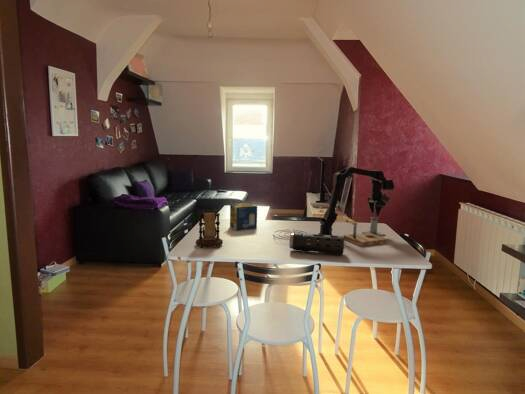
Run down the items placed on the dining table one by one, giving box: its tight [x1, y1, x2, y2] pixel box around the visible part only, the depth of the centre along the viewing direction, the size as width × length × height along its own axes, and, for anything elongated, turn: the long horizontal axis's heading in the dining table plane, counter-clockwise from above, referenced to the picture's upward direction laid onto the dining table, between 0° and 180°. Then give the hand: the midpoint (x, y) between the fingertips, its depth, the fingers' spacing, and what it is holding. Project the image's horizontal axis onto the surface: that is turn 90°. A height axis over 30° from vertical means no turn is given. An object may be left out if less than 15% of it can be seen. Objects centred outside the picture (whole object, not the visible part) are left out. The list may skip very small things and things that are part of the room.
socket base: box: [343, 232, 389, 247], centre depth 225 cm, size 20×16×2 cm
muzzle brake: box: [289, 231, 345, 256], centre depth 199 cm, size 10×28×10 cm, turn 78°
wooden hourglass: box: [195, 209, 224, 249], centre depth 207 cm, size 15×15×20 cm
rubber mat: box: [361, 230, 386, 237], centre depth 242 cm, size 10×10×1 cm
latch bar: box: [342, 215, 358, 238], centre depth 229 cm, size 19×2×9 cm, turn 7°
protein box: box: [229, 202, 258, 231], centre depth 249 cm, size 10×15×16 cm
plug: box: [369, 216, 379, 234], centre depth 241 cm, size 5×5×10 cm
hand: (374, 214), depth 240 cm, fingers open, 9 cm apart
